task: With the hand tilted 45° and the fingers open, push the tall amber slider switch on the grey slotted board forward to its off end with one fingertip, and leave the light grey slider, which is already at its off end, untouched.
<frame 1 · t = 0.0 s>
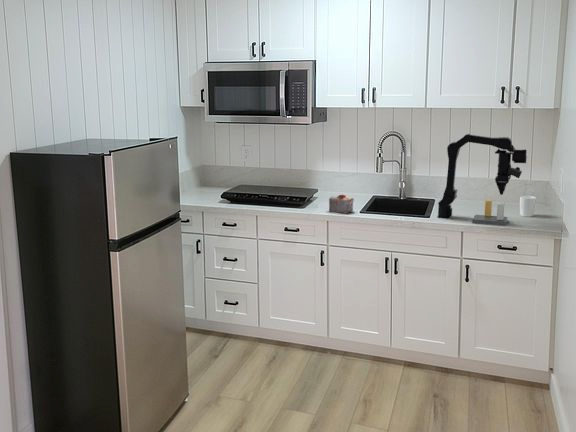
hand: (502, 193, 299), 15 cm above the table, tool pointing down, fingers open, 9 cm apart
amber slider: (488, 208, 303), point 6 cm above the table, slide at 0.0 cm
white cup: (526, 215, 313), on the table
food item: (341, 212, 331), on the table
grey slotted board: (489, 221, 301), on the table
grey slider: (500, 211, 295), point 6 cm above the table, slide at 5.0 cm
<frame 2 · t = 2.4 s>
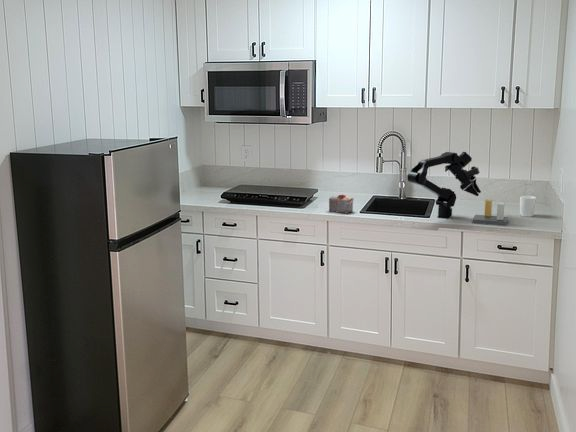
hand: (479, 194, 308), 13 cm above the table, tool tilted 45°, fingers open, 9 cm apart
nothing on the table moved.
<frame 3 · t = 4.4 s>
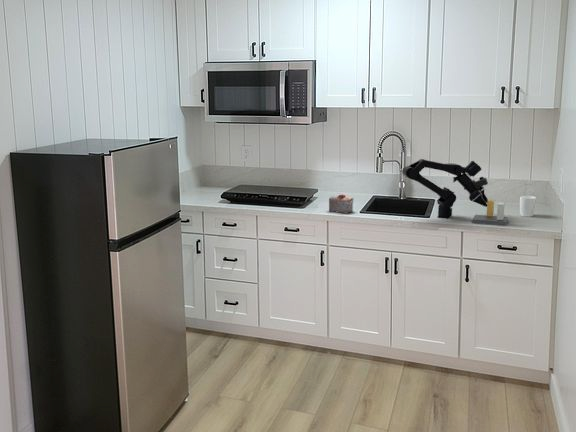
hand: (487, 204, 308), 7 cm above the table, tool tilted 45°, fingers open, 9 cm apart
amber slider: (490, 208, 303), point 6 cm above the table, slide at 1.0 cm, touching gripper
everything else where it was.
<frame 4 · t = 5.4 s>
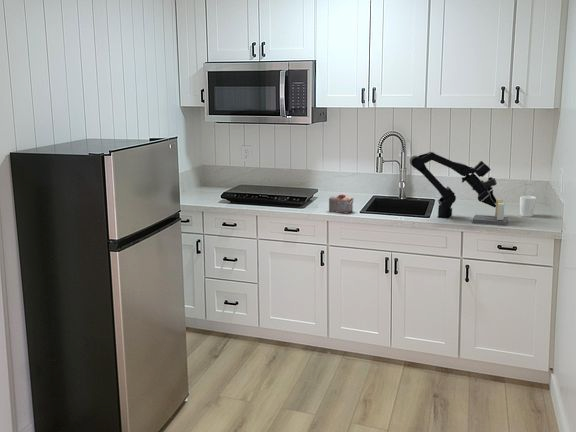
hand: (496, 205, 306), 7 cm above the table, tool tilted 45°, fingers open, 9 cm apart
amber slider: (499, 208, 301), point 6 cm above the table, slide at 5.3 cm, touching gripper
everything else where it was.
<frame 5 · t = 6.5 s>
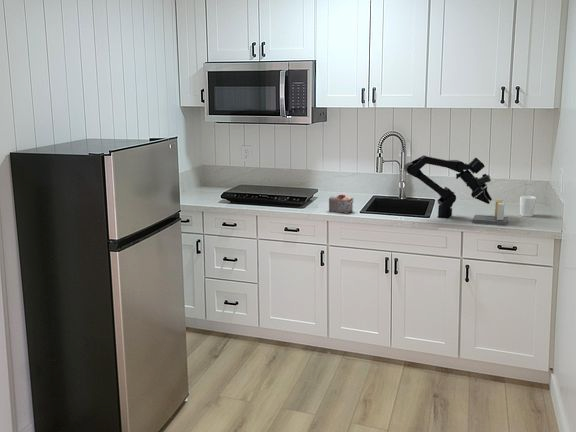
hand: (490, 201, 307), 9 cm above the table, tool tilted 45°, fingers open, 9 cm apart
amber slider: (498, 208, 301), point 6 cm above the table, slide at 5.1 cm
everything else where it was.
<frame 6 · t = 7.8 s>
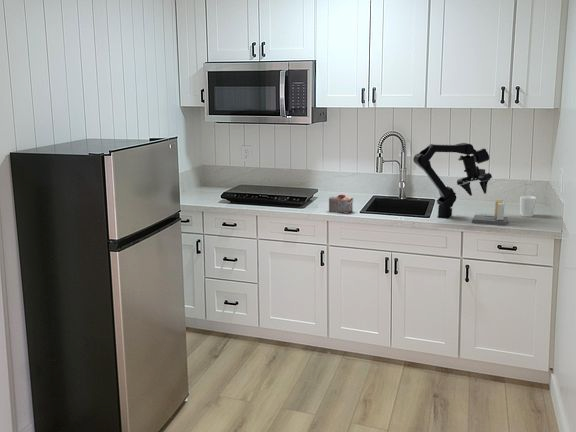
hand: (478, 194, 310), 12 cm above the table, tool tilted 20°, fingers open, 9 cm apart
nothing on the table moved.
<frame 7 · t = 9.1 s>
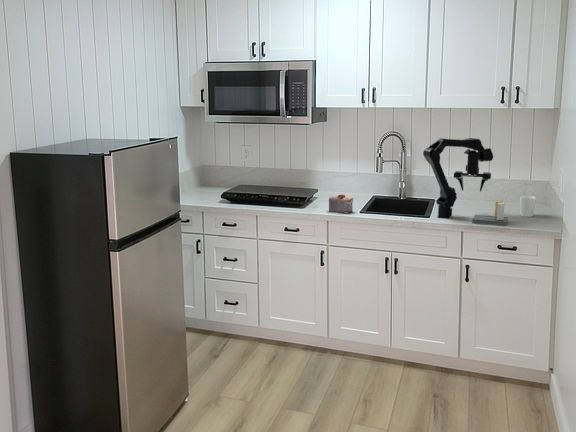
hand: (471, 191, 314), 13 cm above the table, tool pointing down, fingers open, 9 cm apart
nothing on the table moved.
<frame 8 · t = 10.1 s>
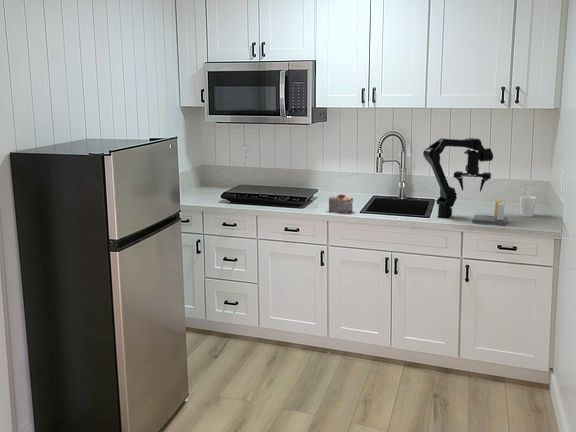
hand: (471, 191, 315), 13 cm above the table, tool pointing down, fingers open, 9 cm apart
nothing on the table moved.
at the end: amber slider slide at 5.1 cm; grey slider slide at 5.0 cm; the gripper is holding nothing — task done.
